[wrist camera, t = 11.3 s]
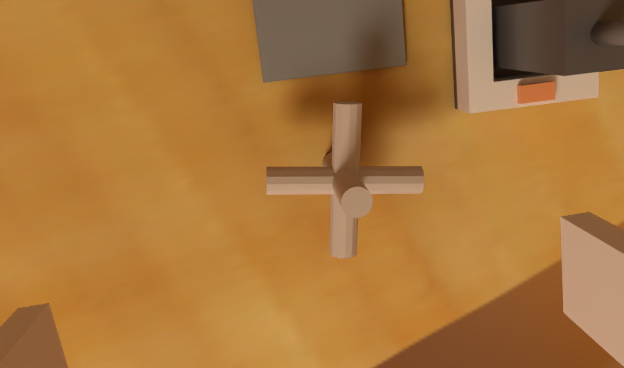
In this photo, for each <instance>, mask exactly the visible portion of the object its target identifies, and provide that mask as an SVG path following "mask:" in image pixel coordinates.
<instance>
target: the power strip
mask: <svg viewBox="0 0 624 368" xmlns="http://www.w3.org/2000/svg"><path fill="white" fill-rule="evenodd" d="M535 1H543V0H450V8H451V30H452V53H453V75H454V97H455V108H456V109H459V110H462V111H464V112H467V113H477V112H485V111H493V110H501V109H509V108H517V107H525V106H533V105H541V104H549V103H556V102H564V101H572V100H580V99H588V98H596V97H598V88H599V72H594V73H586V74H578V75H570V76H559V75H552V74H544V73H536V72H528V71H521V70H513V69H505V68H497V67H493V44H492V7H498V6H505V5H513V4H520V3H528V2H535Z"/></svg>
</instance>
